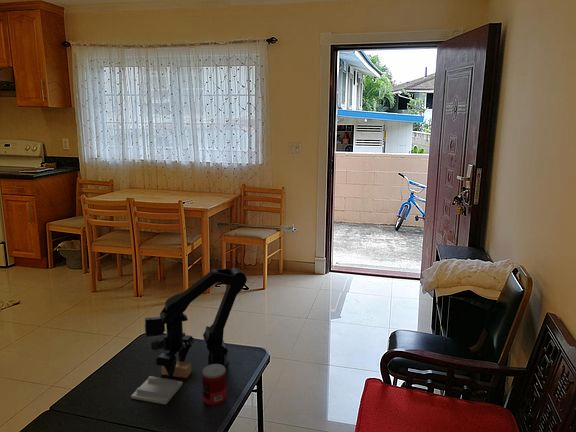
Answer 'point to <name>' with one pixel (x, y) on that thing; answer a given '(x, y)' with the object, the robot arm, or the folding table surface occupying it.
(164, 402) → the deck plate
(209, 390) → the canned food
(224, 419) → the folding table surface
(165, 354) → the robot arm
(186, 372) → the chute block
